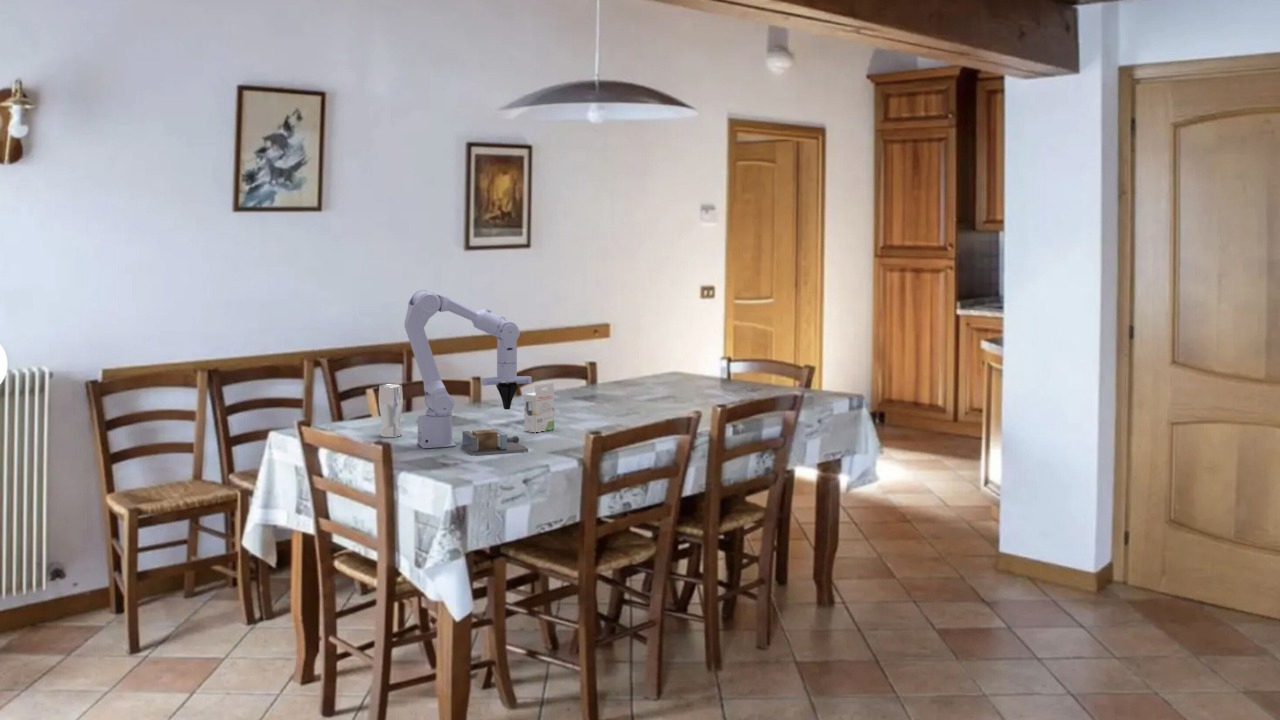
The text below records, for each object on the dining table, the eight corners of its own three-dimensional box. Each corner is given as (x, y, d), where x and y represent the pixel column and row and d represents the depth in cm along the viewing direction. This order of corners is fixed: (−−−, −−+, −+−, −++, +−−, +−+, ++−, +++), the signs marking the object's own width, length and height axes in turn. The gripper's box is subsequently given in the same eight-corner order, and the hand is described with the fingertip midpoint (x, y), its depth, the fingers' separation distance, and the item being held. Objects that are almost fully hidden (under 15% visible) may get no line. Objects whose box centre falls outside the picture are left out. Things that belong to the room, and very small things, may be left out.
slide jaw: (500, 449, 315) (500, 435, 315) (490, 442, 324) (490, 428, 324) (520, 448, 317) (520, 433, 317) (509, 441, 326) (509, 427, 326)
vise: (472, 455, 311) (472, 438, 310) (460, 447, 322) (460, 430, 321) (528, 451, 317) (528, 434, 317) (515, 443, 328) (515, 427, 328)
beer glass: (374, 435, 337) (373, 385, 335) (394, 432, 342) (393, 383, 340) (388, 439, 332) (387, 388, 330) (407, 435, 337) (407, 385, 335)
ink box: (543, 427, 354) (543, 380, 352) (554, 429, 351) (555, 382, 349) (523, 431, 347) (523, 383, 345) (535, 433, 344) (535, 385, 342)
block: (476, 449, 315) (476, 433, 315) (472, 446, 319) (472, 430, 318) (497, 448, 318) (497, 432, 317) (493, 445, 321) (492, 429, 321)
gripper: (486, 365, 323) (486, 412, 325) (535, 363, 329) (534, 409, 330) (479, 362, 329) (479, 408, 331) (527, 360, 335) (527, 405, 337)
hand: (506, 408), depth 331 cm, fingers closed
